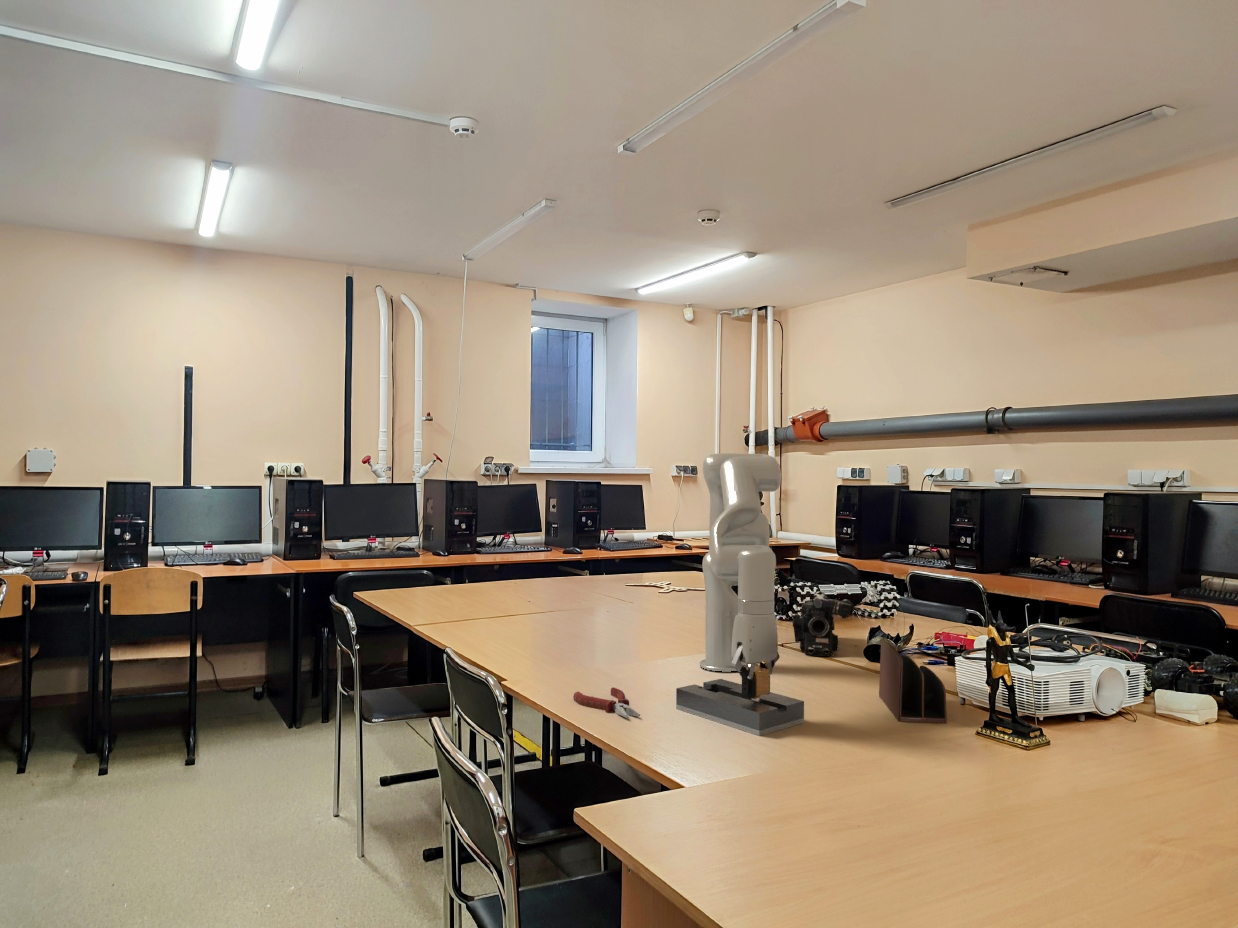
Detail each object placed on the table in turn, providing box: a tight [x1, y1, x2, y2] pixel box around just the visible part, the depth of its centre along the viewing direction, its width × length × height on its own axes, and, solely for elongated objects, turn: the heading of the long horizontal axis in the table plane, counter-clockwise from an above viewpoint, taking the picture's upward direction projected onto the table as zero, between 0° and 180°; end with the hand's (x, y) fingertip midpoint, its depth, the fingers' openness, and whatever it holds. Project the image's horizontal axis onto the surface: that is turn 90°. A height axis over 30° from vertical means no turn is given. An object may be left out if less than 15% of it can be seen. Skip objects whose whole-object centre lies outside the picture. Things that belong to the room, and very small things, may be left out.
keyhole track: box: [675, 678, 805, 737], centre depth 174 cm, size 14×24×4 cm, turn 39°
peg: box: [746, 665, 771, 703], centre depth 171 cm, size 4×4×10 cm
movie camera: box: [791, 591, 855, 657], centre depth 244 cm, size 31×18×18 cm, turn 163°
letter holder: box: [878, 641, 948, 724], centre depth 180 cm, size 10×20×14 cm, turn 174°
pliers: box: [572, 686, 641, 719], centre depth 180 cm, size 12×20×3 cm, turn 27°
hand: (755, 693), depth 171 cm, fingers closed on peg, 4 cm apart
